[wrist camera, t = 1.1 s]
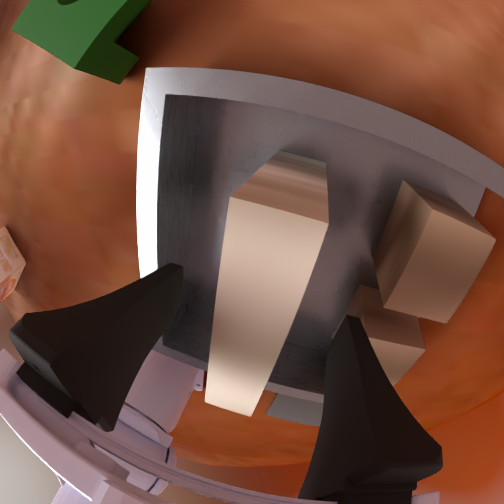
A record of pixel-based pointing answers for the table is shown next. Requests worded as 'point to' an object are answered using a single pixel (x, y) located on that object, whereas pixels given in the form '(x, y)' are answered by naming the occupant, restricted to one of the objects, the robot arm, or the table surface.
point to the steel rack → (248, 162)
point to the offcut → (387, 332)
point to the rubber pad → (296, 410)
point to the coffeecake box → (9, 264)
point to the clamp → (83, 33)
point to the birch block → (264, 274)
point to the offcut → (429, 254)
